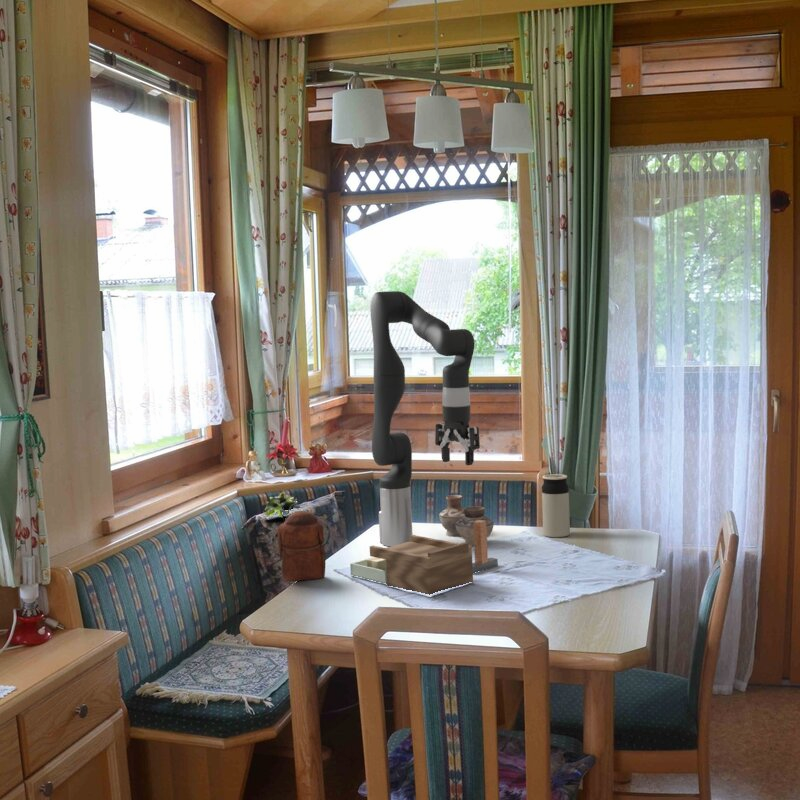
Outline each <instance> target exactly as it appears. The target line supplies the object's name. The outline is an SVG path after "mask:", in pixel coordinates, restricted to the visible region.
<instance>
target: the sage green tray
mask: <svg viewBox="0 0 800 800" xmlns="http://www.w3.org/2000/svg"><path fill="white" fill-rule="evenodd" d="M371 558H375V557H372V556H371V557H369V558H364V559H362V560H358V561H354V562H350V576H351V575H353V576H358V577H362V578H365V579H369V580H373V581H376V582H381V583H386V584H387V571H384V570H380V569H376V568H371V567H367V560H368V559H371Z"/></svg>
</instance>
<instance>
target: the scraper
mask: <svg viewBox="0 0 800 800" xmlns="http://www.w3.org/2000/svg"><path fill="white" fill-rule="evenodd" d="M473 526H474V546H473V548H474V562H472V564H473V573H475V572H478V571H481V572H483V571H482V570H484V571H487V570H490V569H494V568H496V567H498V566H499V561H498V558H495V557H488V537H487V528H486V521H483V520H477V521H473ZM486 569H487V570H486ZM478 573H479V572H478ZM475 574H476V573H475Z"/></svg>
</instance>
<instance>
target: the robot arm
mask: <svg viewBox="0 0 800 800" xmlns="http://www.w3.org/2000/svg"><path fill="white" fill-rule="evenodd" d="M369 309H370V311H369V312H370V323H371V324H370V325H371V331H372V332H371V333H372V343H373V424H372V437H371V438H372V439H371V454H372V458H373V461H374V462H375V463H376V465H378V466H380V467H383V466H384V467H387V466H391V468H390V470H389V471H388V472H386V474H384V475H382V476H381V477H380V478H379V482H378V485H379V498H380V499H379V501H380V510H379V512H378V525H379V526H378V527H379V530H378V531H379V543H380V544H382V545H383V546H386V547H391V546H395V545H399V544H402V543H406V542H410V536H411V535H413V517H412V515H413V514H412V498H411V497H412V495H411V494H412V493H411V479H412V471H413V469H412V467H413V465H412V463H413V461H412V459H413V457H412V456H413V455H412V454H413V451H412V444H411V440H410V437H409V436H408V435H407V433H404V432H393V433H391V424H392V419H393V416H394V413H395V412H396V409H397V408H398V406H399V404H400V402H401V400H402V398H403V395H404V392H405V390H406V374H405V373H406V368H405V365H404V363H403V360H402V358H401V357H400V355H399V354H398V352H397V350H396V349H395V347H394V345H393V343H392V340H391V335H390V334H391V333H390V324H398V323H407V324H410V325H411V326H412V329H413V331H414V333H415V334H416V335H417V336H418V337H419V338H420V339H422V340H423V341H425V342H427V343H429V344H430V345H431V347H432V348H433V349H434V350H435V352H436V353H438V354H439V355H441V356H444V357H453V356H454V360H453V362H452V363H451V364H448V365H447V364H446V365H445V366H444V367H443V368H442V394H441V401H442V402H441V404H442V406H441V407H442V421H443V422H440V423H439V422H438V423H436V424H435V434H434V435H435V436H434V437H435V438H434V439H435V442H434V444H435V446H439V448H440V450H441V451H440V452H441V460H442V462H444V463H447V462H450V460H451V453H450V450H451V449H450V445H451V443H452V442H457V443H460V445H462V446H463V448H464V450H465V451H464V453H465V456H464V457H465V461H464V462H465V466H472V465H473V464H474V462H475V460H474V459H475V457H474V456H475V454H474V453H475V452H474V451H476V450H479V449H480V447H481V446H480V445H481V444H480V443H481V442H480V428H479V427H478V426H473V427H472V426H471V427H470V422H471V415H472V414H471V393H470V376H469V375H470V374H469V372H470V368H471V363H472V360H473V356H474V351H475V345H476V344H475V338H474V335H473V333H472V332H471V331H470V330H469V329H467V328H466V329H465V328H459V329H458V328H457V329H450V326H449V325H448V323H446V322H445V321H443V320H441V319H440V318H438V317H436V316H434V315H433V314H431V313H429V312H427V310H425V309H423V308H422V307H421V306H420V305H419V304H418V303H417V302H415V300H414V299H412V298H411V296H409V295H408V294H407V293H405V292H403V291H399V290H398V291H396V290H394V291H393V290H392V291H391V290H390V291H377V292H374V293H373V295H372V297H371V300H370V307H369Z"/></svg>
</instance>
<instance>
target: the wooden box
mask: <svg viewBox="0 0 800 800" xmlns="http://www.w3.org/2000/svg"><path fill="white" fill-rule="evenodd" d="M369 556H370V557H371V558H372V557H377V558H381V559H386V570H387V585H388V586H393V587H398V588H403V589H406V590H412V591H417V592H421V593H425V594H429V595H430V594H433V593H435V592H438V591H441V590H445V589H448V588H452V587H456V586H459V585H463V584H466V583H469V582H473V583H474V574H473V564H472V563H473V546H469V545H468V543H466V542H465V541H464V542H462V543H457V542H453V541H452V542H451V541H447V540H443V539H437V538H436V539H435V538H433V537H432V538H431V537H426V536H420V535H414V534H412V535H411V536H410V542H406V543H402V544H399V545H395V546H387V547H383V546H378V545H370V546H369ZM387 585H386V586H387Z"/></svg>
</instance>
